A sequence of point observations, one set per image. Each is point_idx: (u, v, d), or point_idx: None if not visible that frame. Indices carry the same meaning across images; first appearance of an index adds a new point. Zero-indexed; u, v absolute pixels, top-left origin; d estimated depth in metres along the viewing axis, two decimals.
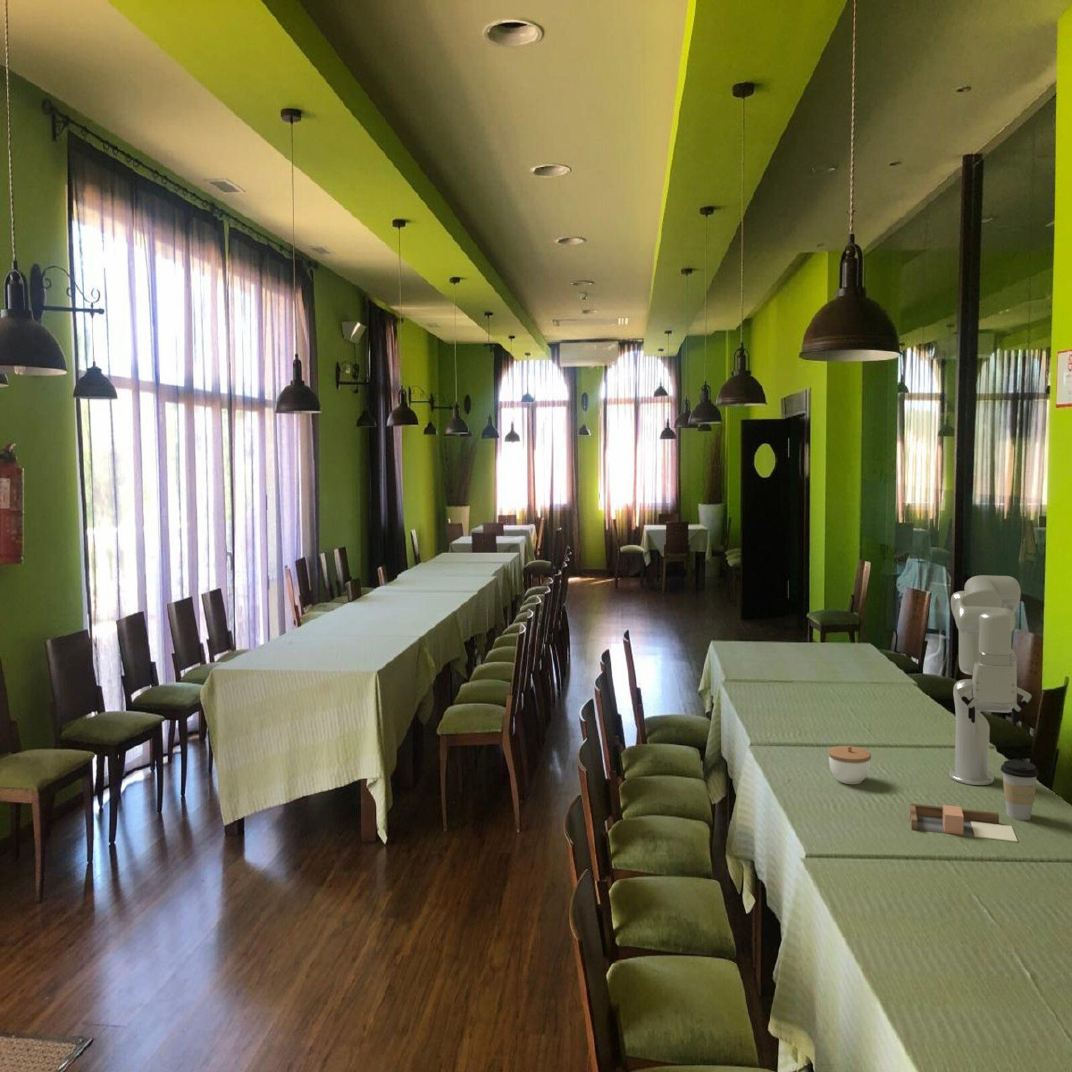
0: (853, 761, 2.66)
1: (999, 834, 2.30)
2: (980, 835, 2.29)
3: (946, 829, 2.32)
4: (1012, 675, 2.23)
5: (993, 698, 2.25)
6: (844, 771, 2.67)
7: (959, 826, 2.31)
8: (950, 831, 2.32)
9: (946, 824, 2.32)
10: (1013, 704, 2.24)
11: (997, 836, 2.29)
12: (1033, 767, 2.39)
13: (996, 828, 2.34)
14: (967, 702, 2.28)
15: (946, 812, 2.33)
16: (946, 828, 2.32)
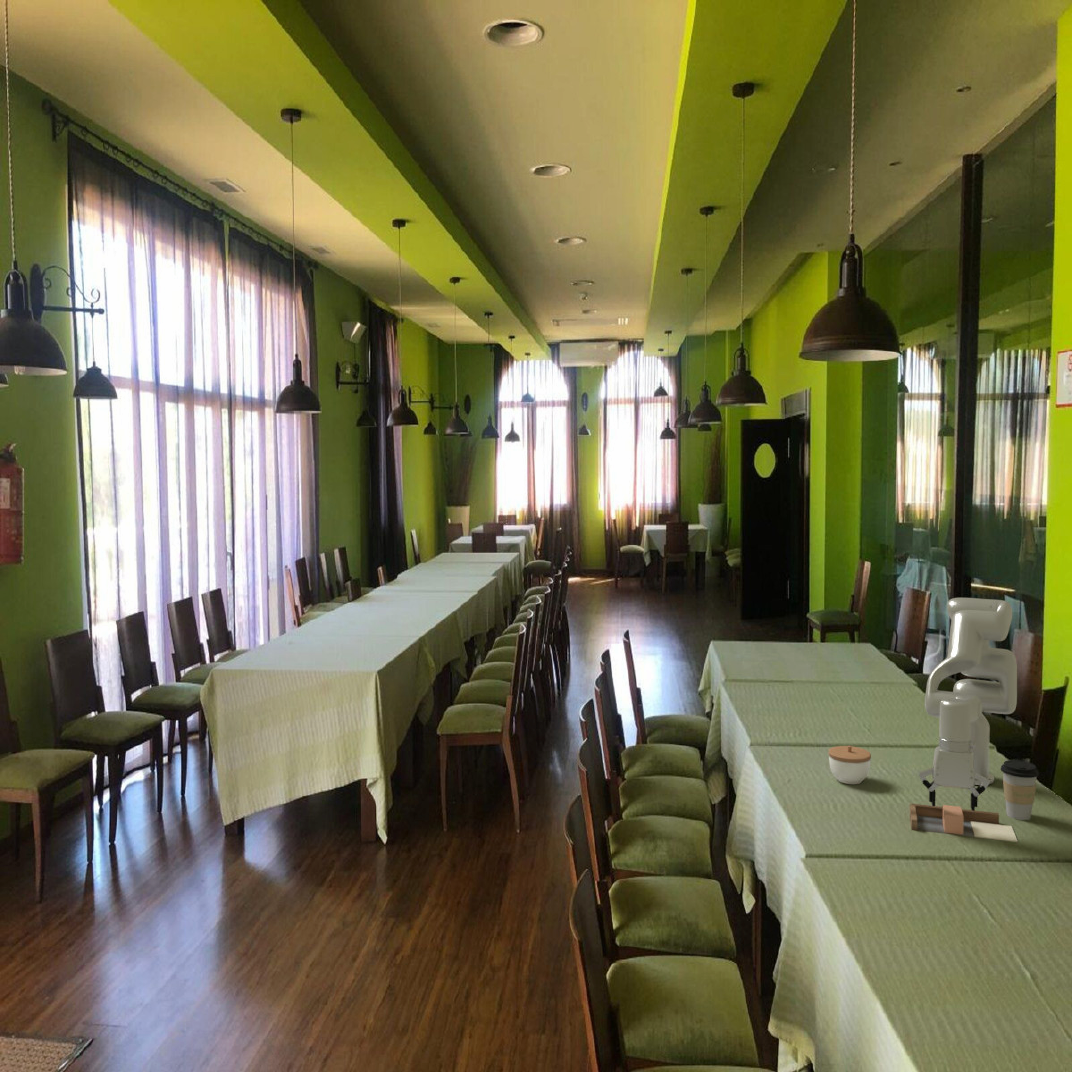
0: (853, 761, 2.66)
1: (999, 834, 2.30)
2: (980, 835, 2.29)
3: (946, 829, 2.32)
4: (971, 761, 2.30)
5: (952, 783, 2.32)
6: (844, 771, 2.67)
7: (959, 826, 2.31)
8: (950, 831, 2.32)
9: (946, 824, 2.32)
10: (972, 789, 2.31)
11: (997, 836, 2.29)
12: (1033, 767, 2.39)
13: (996, 828, 2.34)
14: (928, 786, 2.35)
15: (946, 812, 2.33)
16: (946, 828, 2.32)
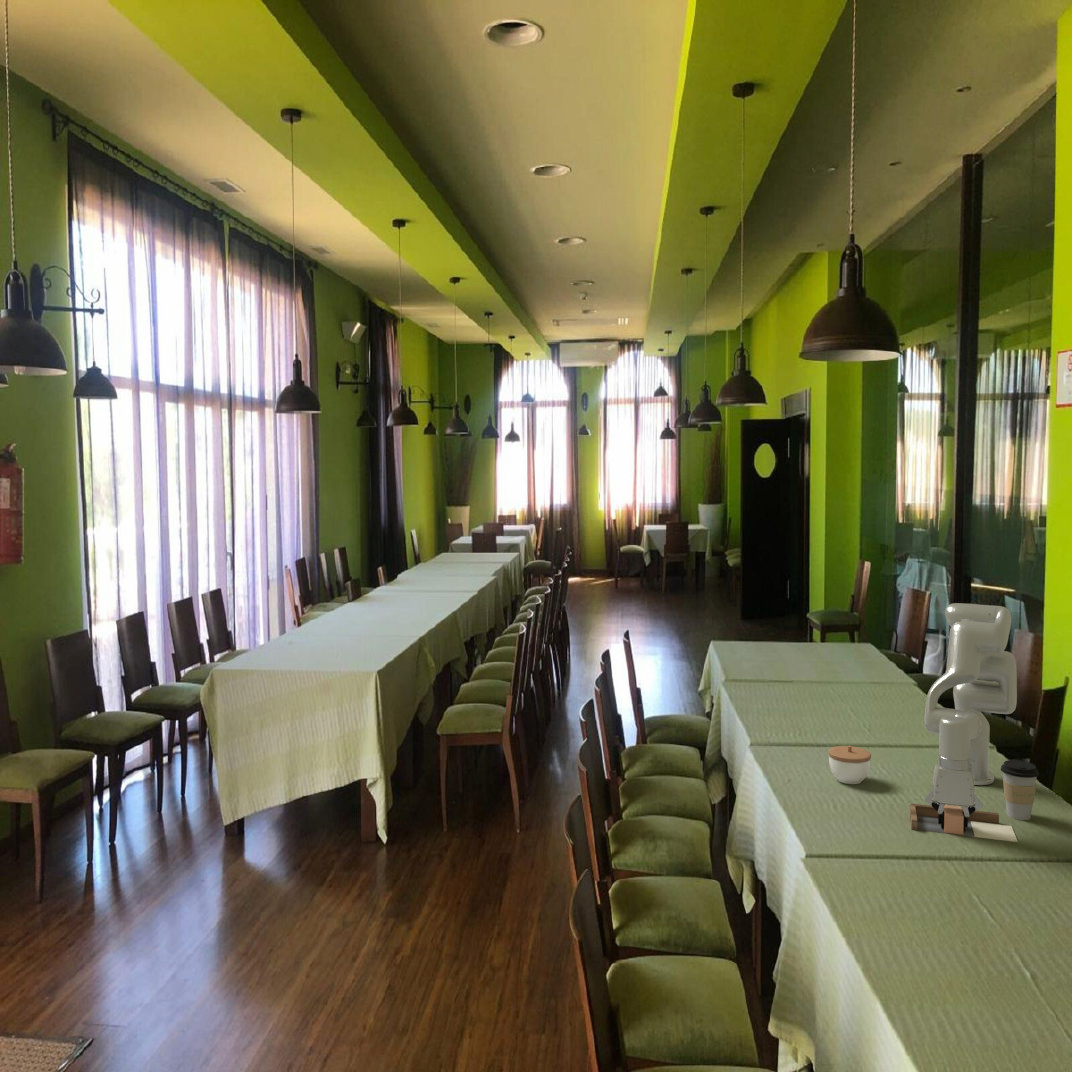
0: (853, 761, 2.66)
1: (999, 834, 2.30)
2: (980, 835, 2.29)
3: (946, 829, 2.32)
4: (970, 779, 2.30)
5: (952, 800, 2.33)
6: (844, 771, 2.67)
7: (959, 826, 2.31)
8: (950, 831, 2.32)
9: (946, 824, 2.32)
10: (965, 809, 2.32)
11: (997, 836, 2.29)
12: (1033, 767, 2.39)
13: (996, 828, 2.34)
14: (936, 809, 2.35)
15: (946, 812, 2.33)
16: (946, 828, 2.32)
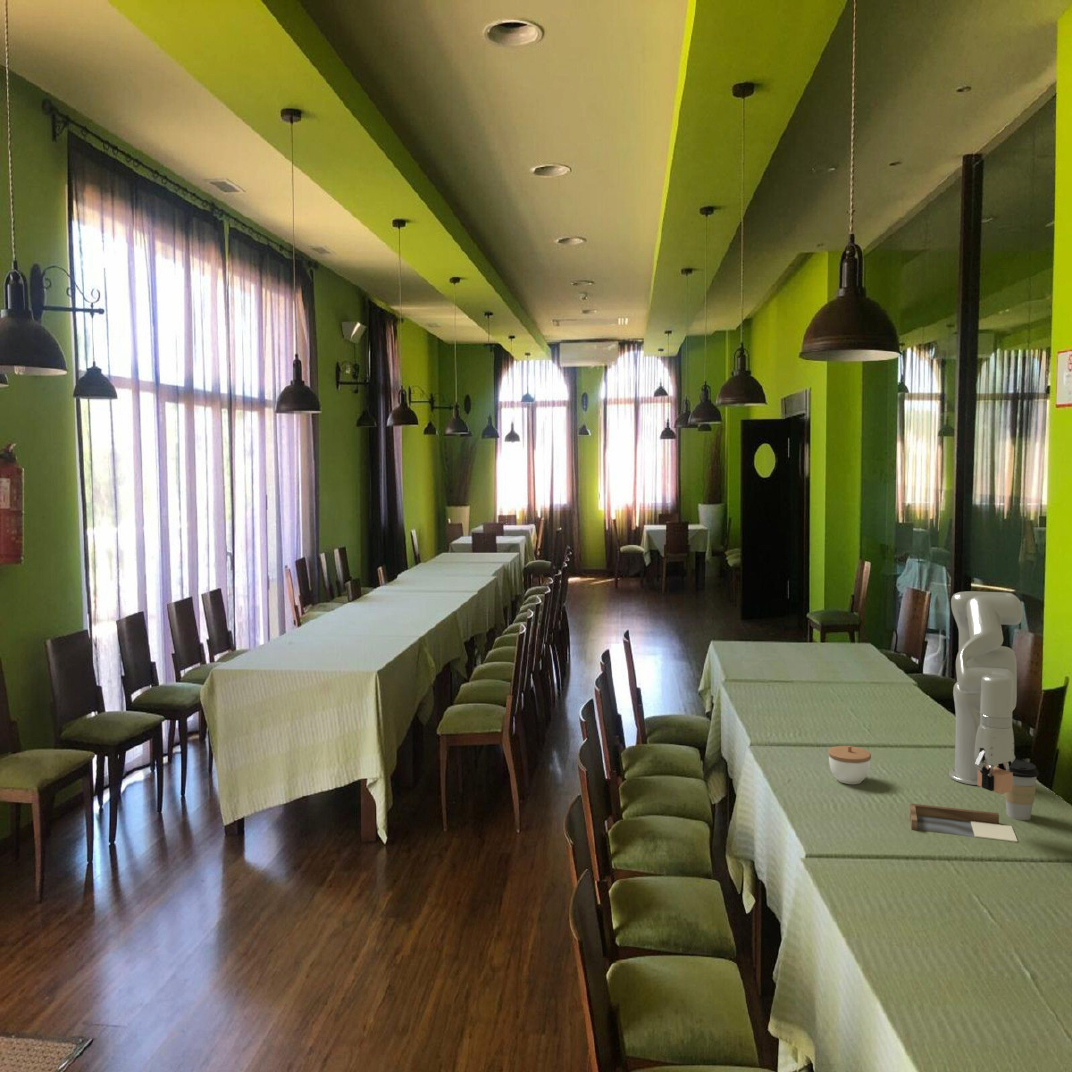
0: (853, 761, 2.66)
1: (999, 834, 2.30)
2: (980, 835, 2.29)
3: (1001, 790, 2.27)
4: (1012, 734, 2.30)
5: (1000, 759, 2.29)
6: (844, 771, 2.67)
7: (1009, 783, 2.28)
8: (1004, 791, 2.28)
9: (1001, 785, 2.27)
10: (1006, 765, 2.31)
11: (997, 836, 2.29)
12: (1033, 767, 2.39)
13: (996, 828, 2.34)
14: (986, 773, 2.28)
15: (996, 773, 2.28)
16: (1001, 789, 2.27)
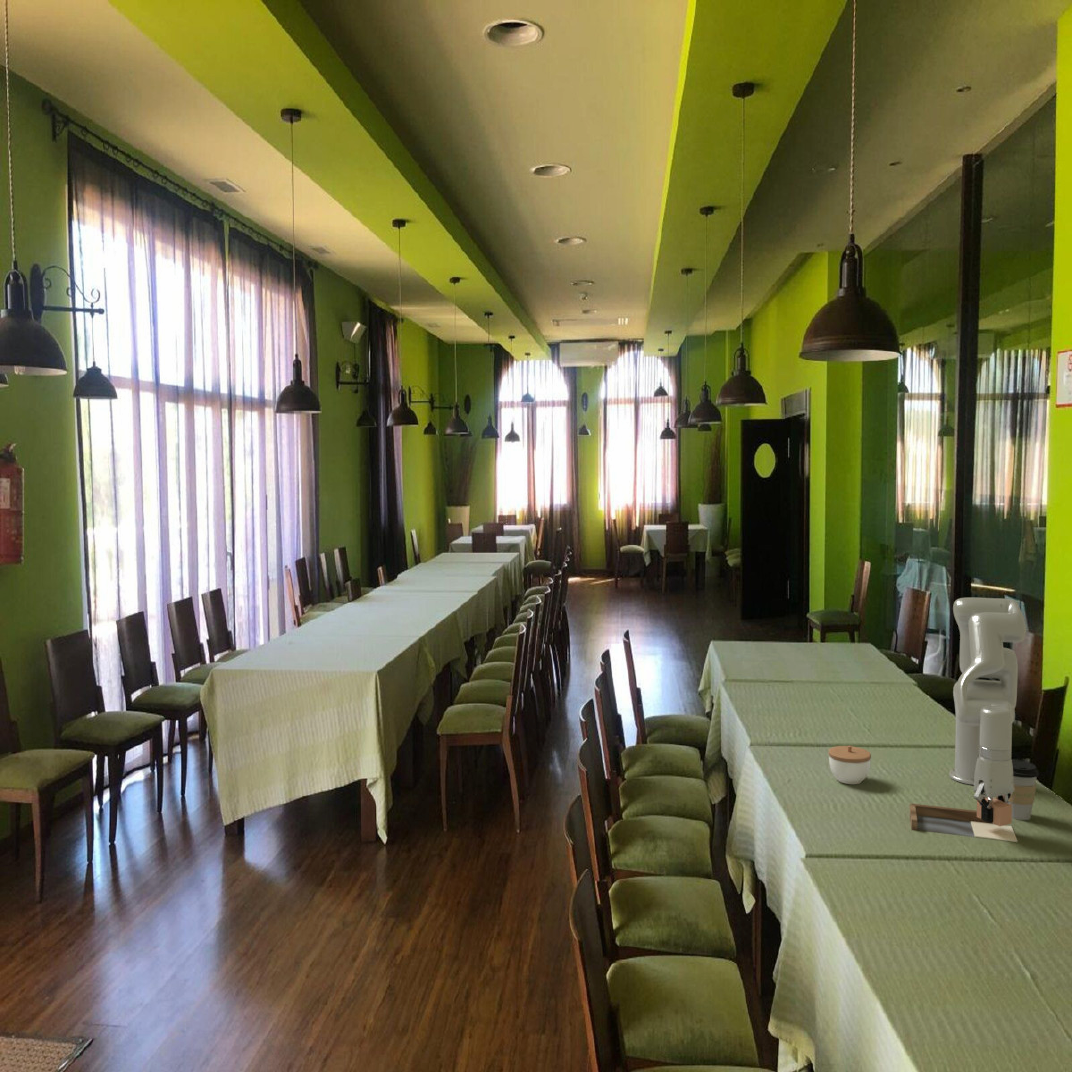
0: (853, 761, 2.66)
1: (999, 834, 2.30)
2: (980, 835, 2.29)
3: (1001, 822, 2.28)
4: (1012, 766, 2.30)
5: (1000, 792, 2.29)
6: (844, 771, 2.67)
7: (1009, 816, 2.29)
8: (1003, 824, 2.28)
9: (1001, 817, 2.28)
10: (1006, 797, 2.31)
11: (997, 836, 2.29)
12: (1033, 767, 2.39)
13: (996, 828, 2.34)
14: (985, 805, 2.29)
15: (996, 805, 2.29)
16: (1001, 821, 2.28)
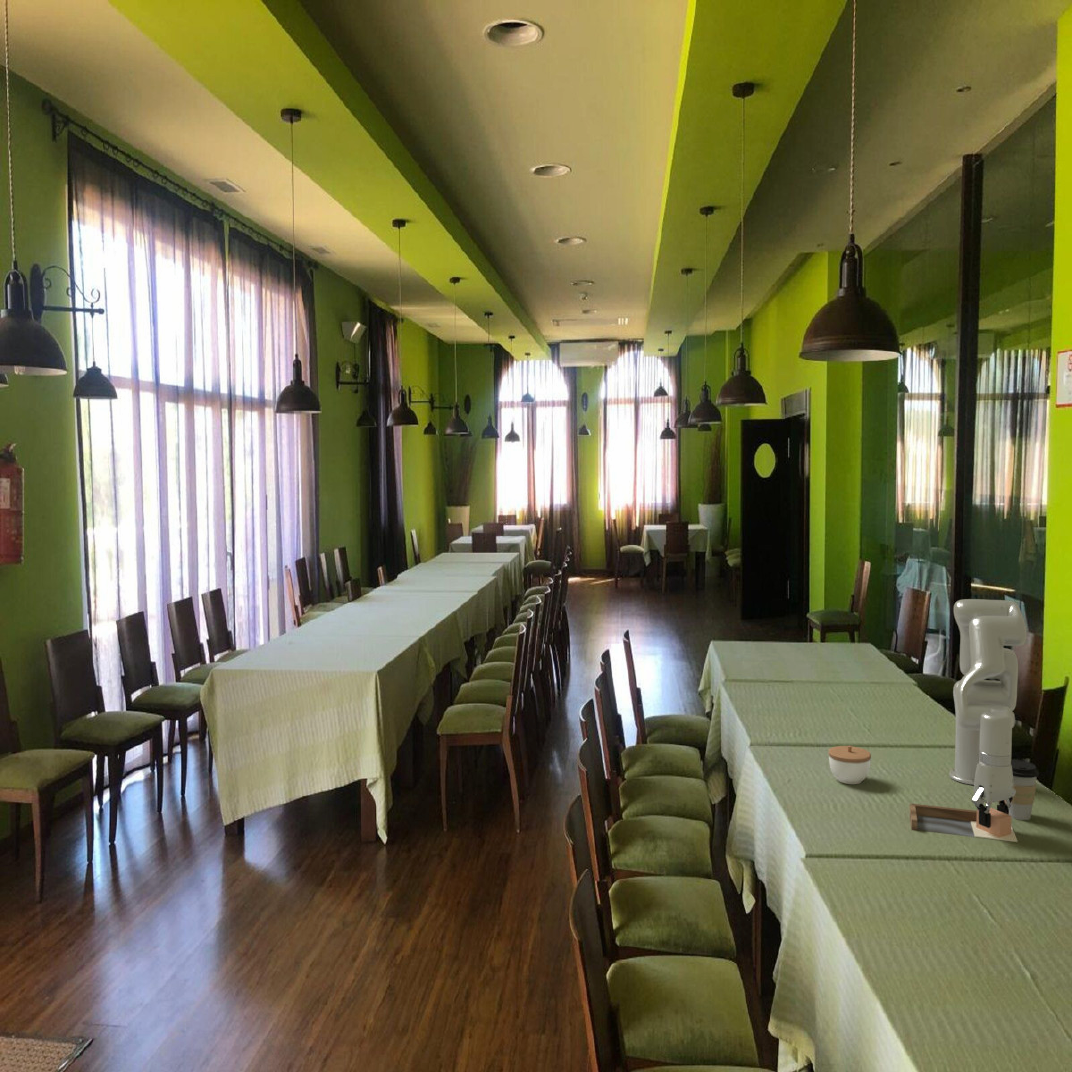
0: (853, 761, 2.66)
1: None
2: (980, 835, 2.29)
3: (1000, 833, 2.28)
4: (1011, 771, 2.31)
5: (999, 797, 2.29)
6: (844, 771, 2.67)
7: (1008, 826, 2.29)
8: (1002, 834, 2.29)
9: (1000, 828, 2.28)
10: (1007, 801, 2.32)
11: None
12: (1033, 767, 2.39)
13: None
14: (983, 809, 2.29)
15: (995, 816, 2.29)
16: (1000, 832, 2.28)
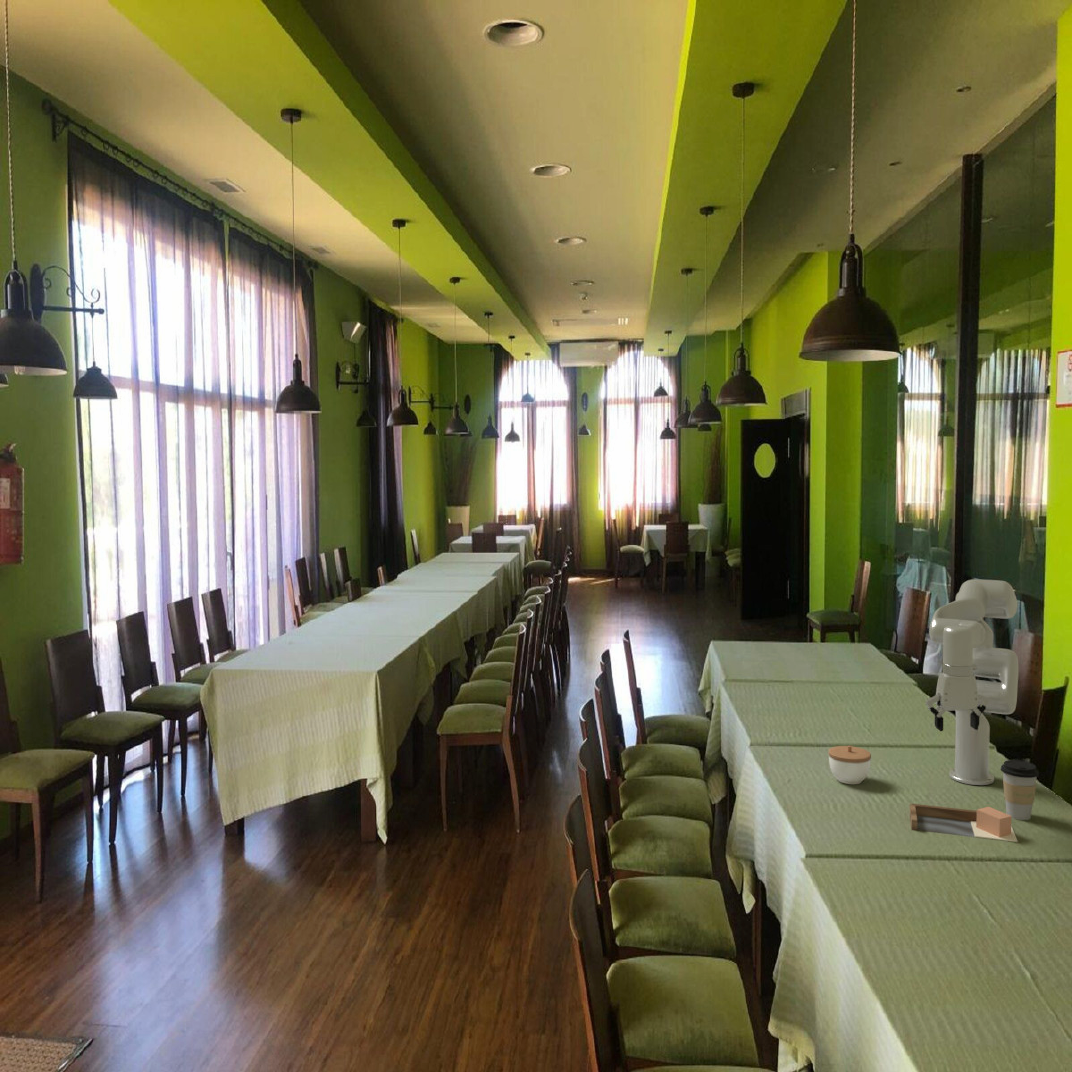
0: (853, 761, 2.66)
1: None
2: (980, 835, 2.29)
3: (1000, 833, 2.28)
4: (975, 683, 2.39)
5: (959, 706, 2.40)
6: (844, 771, 2.67)
7: (1008, 826, 2.29)
8: (1002, 834, 2.29)
9: (1000, 828, 2.28)
10: (975, 710, 2.40)
11: None
12: (1033, 767, 2.39)
13: None
14: (935, 712, 2.41)
15: (995, 816, 2.29)
16: (1000, 832, 2.28)
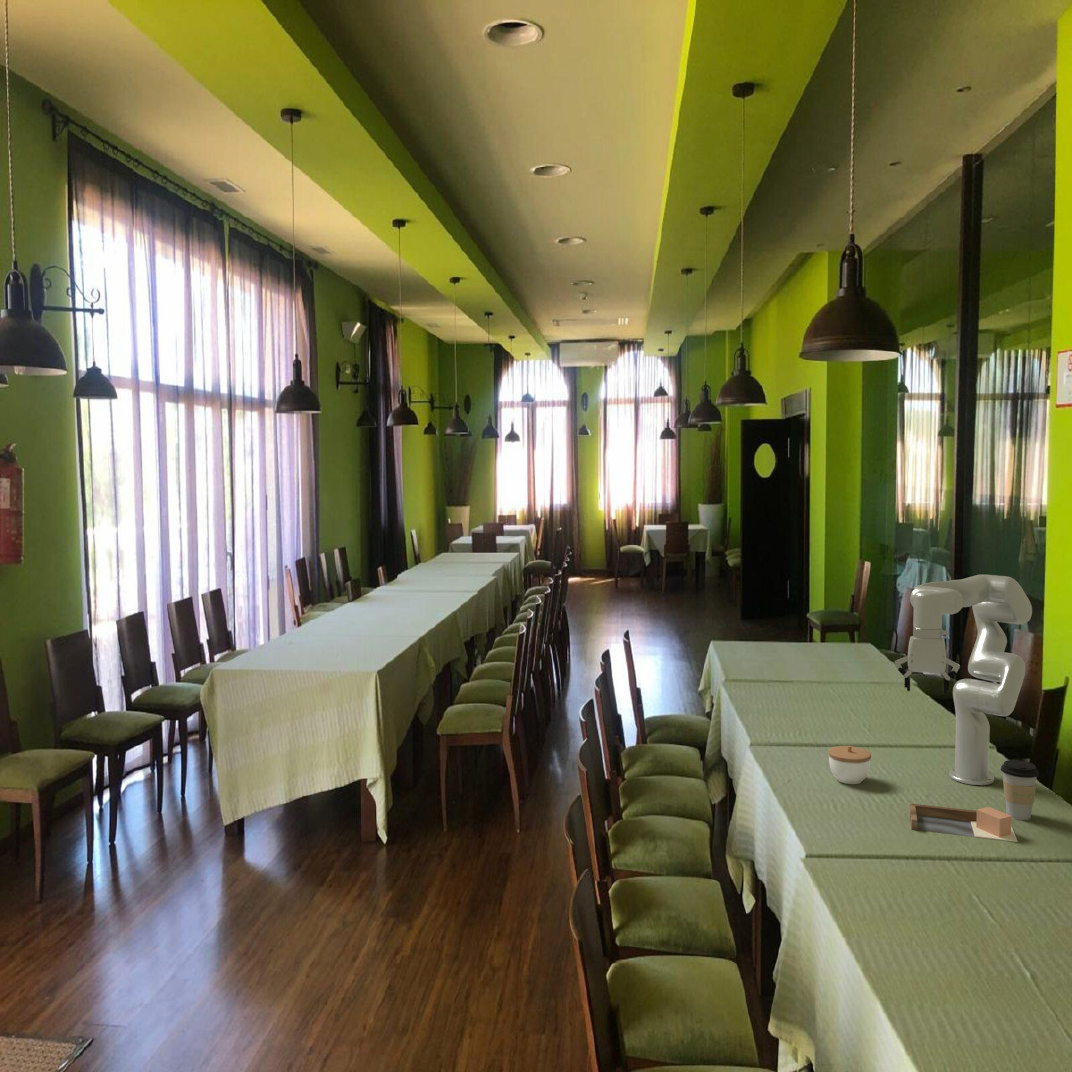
0: (853, 761, 2.66)
1: None
2: (980, 835, 2.29)
3: (1000, 833, 2.28)
4: (942, 647, 2.47)
5: (925, 668, 2.49)
6: (844, 771, 2.67)
7: (1008, 826, 2.29)
8: (1002, 834, 2.29)
9: (1000, 828, 2.28)
10: (943, 674, 2.48)
11: None
12: (1033, 767, 2.39)
13: None
14: (903, 672, 2.52)
15: (995, 816, 2.29)
16: (1000, 832, 2.28)
